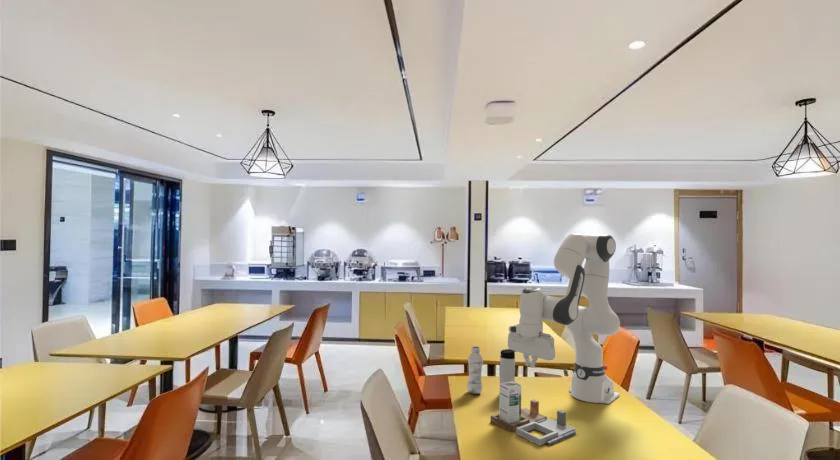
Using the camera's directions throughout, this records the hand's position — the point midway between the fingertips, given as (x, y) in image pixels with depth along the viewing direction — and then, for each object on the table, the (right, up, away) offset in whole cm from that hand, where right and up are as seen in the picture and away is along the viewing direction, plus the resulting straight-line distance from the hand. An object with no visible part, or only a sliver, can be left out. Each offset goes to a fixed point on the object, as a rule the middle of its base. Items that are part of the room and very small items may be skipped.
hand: (530, 366), depth 157 cm
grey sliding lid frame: (+2, -19, -14) cm, 23 cm away
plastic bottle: (-18, -20, +23) cm, 36 cm away
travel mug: (-4, -20, +21) cm, 30 cm away
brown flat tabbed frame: (-5, -19, -4) cm, 20 cm away
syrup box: (-9, -19, -7) cm, 22 cm away
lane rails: (-1, -19, -9) cm, 21 cm away
